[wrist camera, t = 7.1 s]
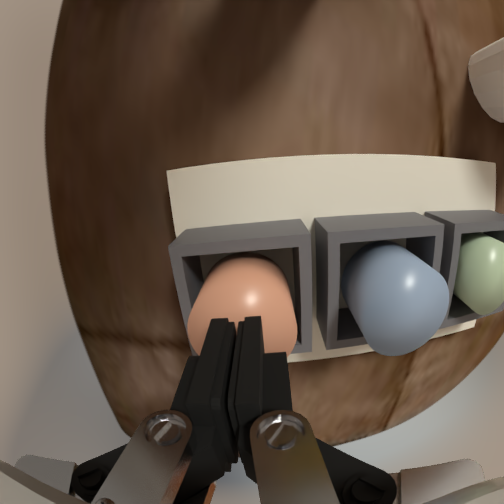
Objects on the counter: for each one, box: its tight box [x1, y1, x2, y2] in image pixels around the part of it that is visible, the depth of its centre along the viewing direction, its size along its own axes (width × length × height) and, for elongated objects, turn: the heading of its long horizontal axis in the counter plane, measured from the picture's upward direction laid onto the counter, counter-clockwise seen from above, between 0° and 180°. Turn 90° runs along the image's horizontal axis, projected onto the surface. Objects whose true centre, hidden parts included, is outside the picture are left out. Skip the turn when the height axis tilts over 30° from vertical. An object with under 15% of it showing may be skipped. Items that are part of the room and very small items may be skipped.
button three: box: [453, 232, 504, 315], centre depth 12 cm, size 4×4×4 cm
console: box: [167, 154, 504, 363], centre depth 14 cm, size 12×20×4 cm, turn 96°
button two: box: [341, 240, 449, 356], centre depth 11 cm, size 4×4×4 cm
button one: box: [187, 252, 297, 357], centre depth 12 cm, size 4×4×4 cm
